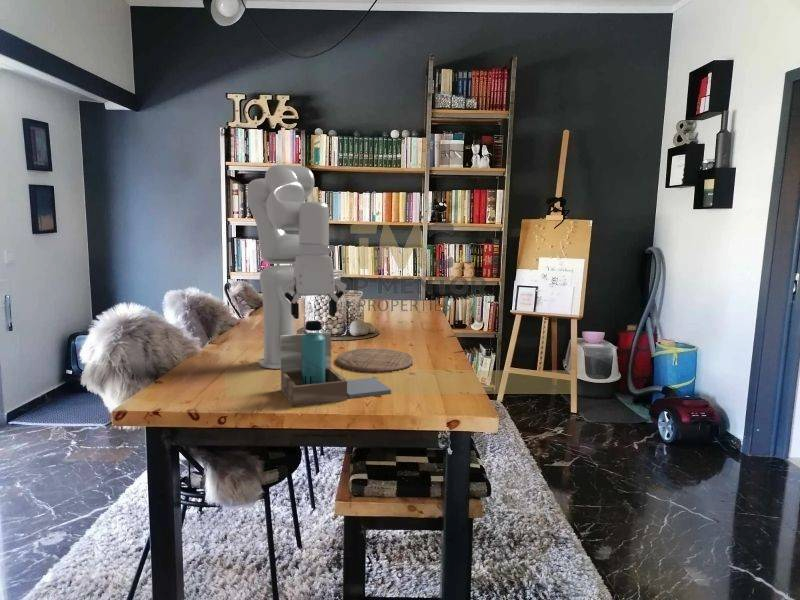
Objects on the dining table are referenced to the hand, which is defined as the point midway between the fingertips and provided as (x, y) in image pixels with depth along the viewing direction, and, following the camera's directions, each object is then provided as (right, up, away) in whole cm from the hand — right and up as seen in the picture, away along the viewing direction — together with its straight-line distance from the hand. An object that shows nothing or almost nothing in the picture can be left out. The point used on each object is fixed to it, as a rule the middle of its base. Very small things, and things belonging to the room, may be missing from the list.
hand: (314, 317), depth 136 cm
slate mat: (+12, -20, +9) cm, 25 cm away
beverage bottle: (-1, -21, +4) cm, 21 cm away
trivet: (+14, -17, +38) cm, 44 cm away
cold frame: (-1, -21, +4) cm, 21 cm away
